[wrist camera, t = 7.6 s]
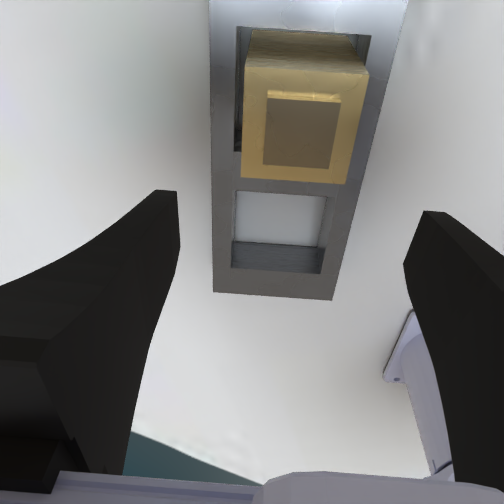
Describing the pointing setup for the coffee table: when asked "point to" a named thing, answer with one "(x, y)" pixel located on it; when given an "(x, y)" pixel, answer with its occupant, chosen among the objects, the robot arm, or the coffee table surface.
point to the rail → (338, 195)
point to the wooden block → (301, 106)
